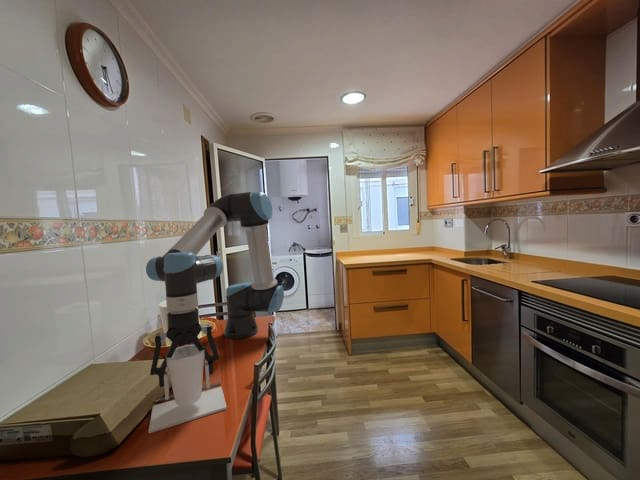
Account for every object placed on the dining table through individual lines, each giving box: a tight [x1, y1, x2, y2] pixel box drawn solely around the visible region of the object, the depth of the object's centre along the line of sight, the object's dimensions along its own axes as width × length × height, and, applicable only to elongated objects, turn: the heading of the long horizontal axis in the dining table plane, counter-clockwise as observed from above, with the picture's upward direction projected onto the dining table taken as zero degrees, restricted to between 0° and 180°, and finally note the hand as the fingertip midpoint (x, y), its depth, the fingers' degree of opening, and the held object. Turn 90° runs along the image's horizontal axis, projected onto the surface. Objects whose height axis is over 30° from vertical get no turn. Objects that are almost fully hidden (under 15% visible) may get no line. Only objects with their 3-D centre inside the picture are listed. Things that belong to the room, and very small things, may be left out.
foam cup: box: [166, 344, 205, 406], centre depth 75 cm, size 10×9×13 cm
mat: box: [148, 386, 227, 434], centre depth 76 cm, size 18×11×1 cm, turn 116°
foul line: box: [159, 381, 222, 403], centre depth 83 cm, size 18×1×1 cm, turn 116°
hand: (188, 391), depth 75 cm, fingers closed on foam cup, 9 cm apart
